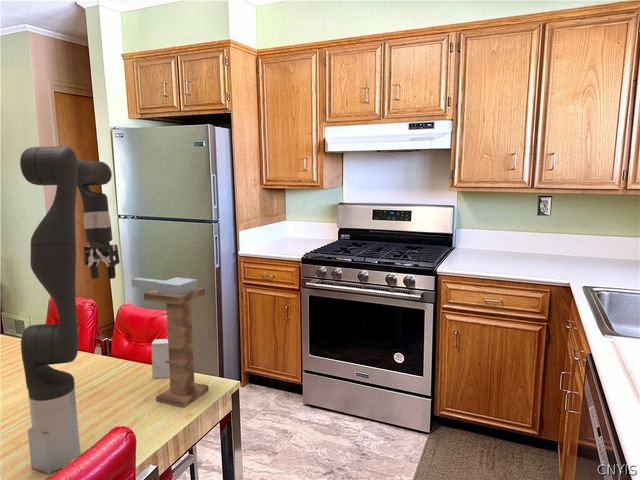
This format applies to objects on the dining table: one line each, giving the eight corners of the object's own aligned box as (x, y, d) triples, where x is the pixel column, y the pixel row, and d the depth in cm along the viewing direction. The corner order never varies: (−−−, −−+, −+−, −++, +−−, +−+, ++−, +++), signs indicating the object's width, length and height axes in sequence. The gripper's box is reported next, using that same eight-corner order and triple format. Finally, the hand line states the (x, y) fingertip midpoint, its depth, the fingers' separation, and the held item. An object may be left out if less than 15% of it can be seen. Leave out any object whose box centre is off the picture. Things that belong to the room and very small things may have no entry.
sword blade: (179, 295, 128) (179, 285, 128) (124, 288, 137) (124, 279, 136) (197, 289, 136) (197, 279, 135) (144, 283, 144) (143, 273, 143)
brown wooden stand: (182, 408, 131) (177, 297, 126) (149, 399, 136) (143, 293, 131) (208, 390, 142) (204, 288, 137) (177, 383, 146) (172, 284, 142)
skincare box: (152, 378, 150) (150, 343, 148) (155, 373, 154) (153, 339, 153) (171, 377, 151) (169, 342, 149) (173, 371, 155) (172, 338, 153)
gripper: (72, 229, 140) (78, 280, 141) (100, 226, 133) (106, 280, 134) (95, 227, 146) (100, 276, 147) (123, 224, 139) (128, 276, 140)
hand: (103, 278), depth 140 cm, fingers open, 8 cm apart
